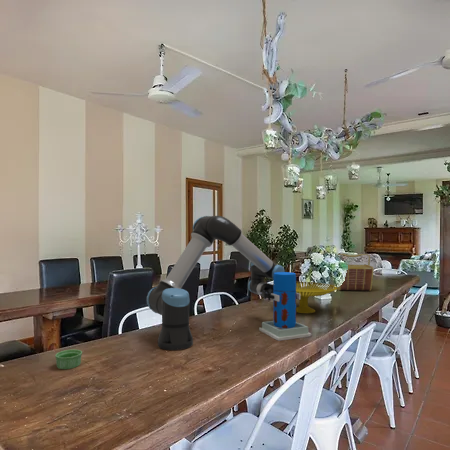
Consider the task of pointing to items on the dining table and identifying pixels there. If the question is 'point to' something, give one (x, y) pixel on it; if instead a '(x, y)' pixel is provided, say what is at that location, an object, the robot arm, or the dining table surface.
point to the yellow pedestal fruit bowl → (308, 292)
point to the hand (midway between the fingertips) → (289, 297)
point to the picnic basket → (358, 276)
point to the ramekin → (68, 359)
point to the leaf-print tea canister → (284, 299)
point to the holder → (284, 331)
